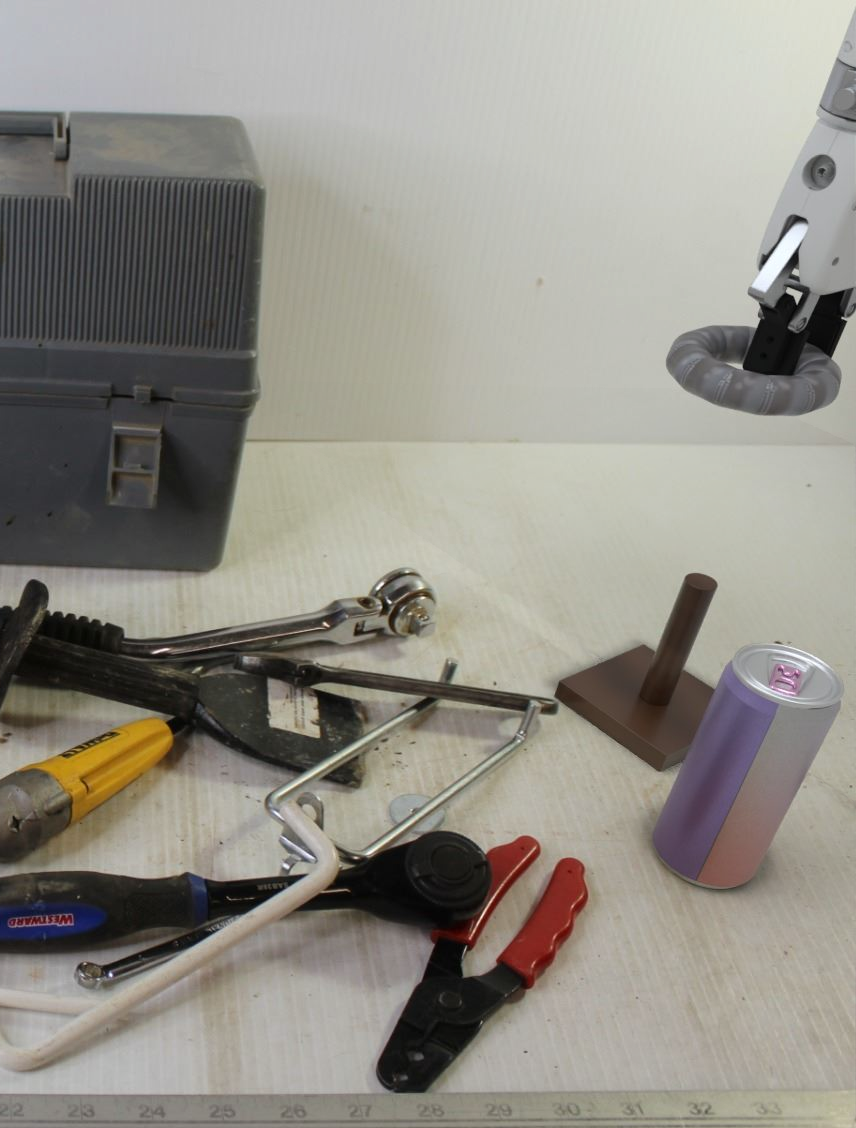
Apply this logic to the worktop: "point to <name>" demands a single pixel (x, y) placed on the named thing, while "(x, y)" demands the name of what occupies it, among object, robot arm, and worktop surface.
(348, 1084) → the worktop surface
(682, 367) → the ring
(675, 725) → the stand
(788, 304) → the robot arm
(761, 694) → the beverage can
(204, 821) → the worktop surface
